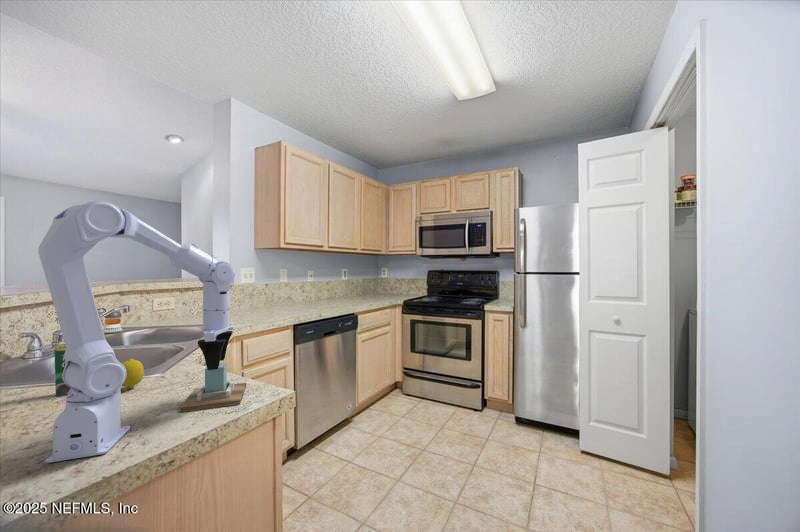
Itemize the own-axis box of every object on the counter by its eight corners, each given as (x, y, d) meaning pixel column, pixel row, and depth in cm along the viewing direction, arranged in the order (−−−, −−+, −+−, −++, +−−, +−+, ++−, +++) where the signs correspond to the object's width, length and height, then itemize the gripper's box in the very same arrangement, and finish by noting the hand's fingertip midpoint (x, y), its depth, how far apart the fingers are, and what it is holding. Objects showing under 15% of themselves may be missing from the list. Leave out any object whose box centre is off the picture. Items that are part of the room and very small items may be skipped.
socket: (240, 404, 74) (240, 393, 74) (180, 412, 70) (180, 401, 70) (246, 386, 86) (246, 377, 86) (195, 392, 82) (195, 382, 82)
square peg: (223, 396, 77) (223, 367, 77) (204, 398, 75) (204, 369, 75) (226, 390, 80) (226, 362, 80) (208, 392, 79) (208, 364, 79)
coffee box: (52, 397, 79) (53, 344, 79) (57, 393, 81) (58, 342, 81) (96, 390, 83) (96, 340, 83) (99, 387, 85) (100, 338, 85)
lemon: (149, 385, 87) (149, 356, 87) (130, 393, 81) (130, 362, 81) (130, 384, 87) (130, 355, 87) (110, 392, 82) (110, 361, 82)
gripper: (229, 312, 73) (229, 371, 72) (238, 305, 86) (238, 355, 86) (194, 314, 70) (193, 375, 70) (209, 306, 84) (209, 358, 84)
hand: (216, 364), depth 78 cm, fingers open, 7 cm apart
